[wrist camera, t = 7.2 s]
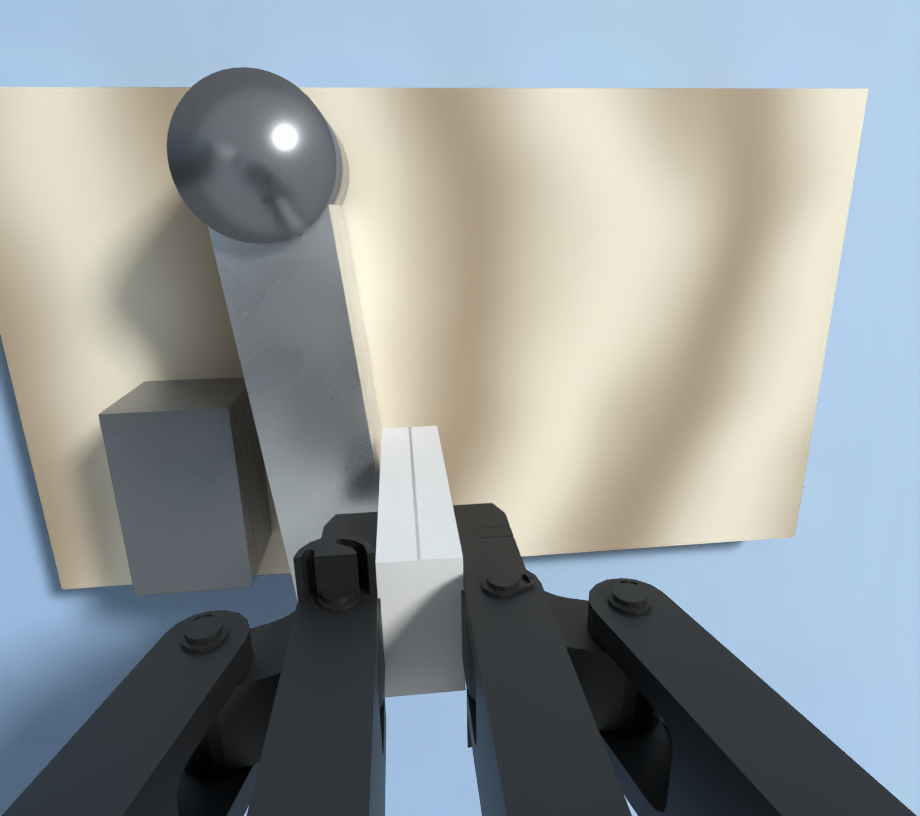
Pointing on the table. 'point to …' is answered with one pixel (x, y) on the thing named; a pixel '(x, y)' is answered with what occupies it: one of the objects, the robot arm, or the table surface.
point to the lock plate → (466, 297)
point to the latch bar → (285, 287)
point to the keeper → (188, 484)
